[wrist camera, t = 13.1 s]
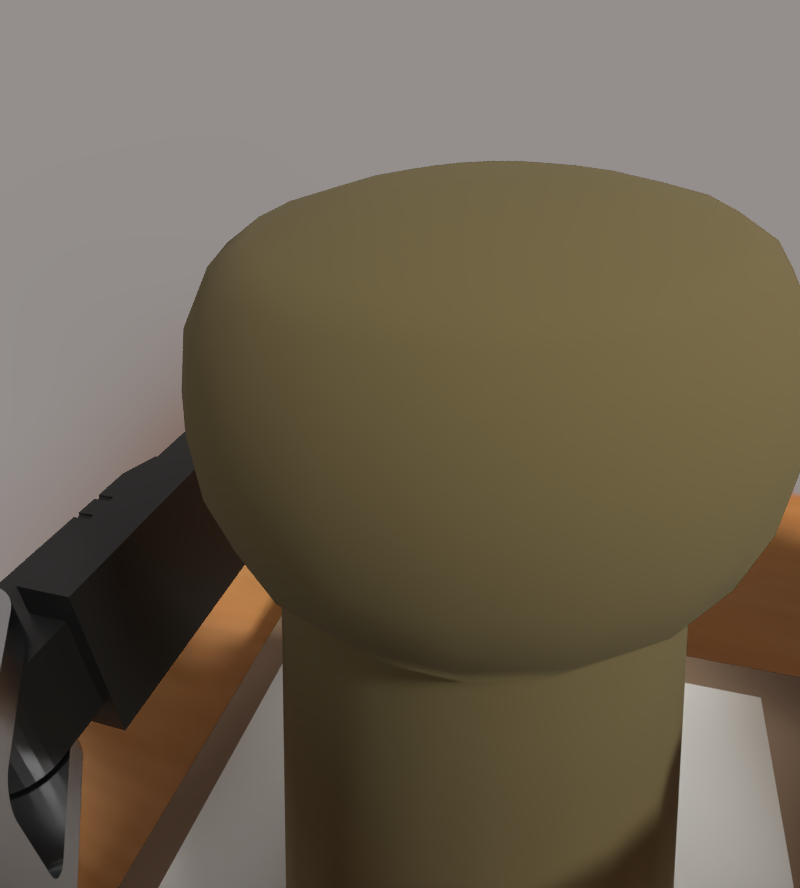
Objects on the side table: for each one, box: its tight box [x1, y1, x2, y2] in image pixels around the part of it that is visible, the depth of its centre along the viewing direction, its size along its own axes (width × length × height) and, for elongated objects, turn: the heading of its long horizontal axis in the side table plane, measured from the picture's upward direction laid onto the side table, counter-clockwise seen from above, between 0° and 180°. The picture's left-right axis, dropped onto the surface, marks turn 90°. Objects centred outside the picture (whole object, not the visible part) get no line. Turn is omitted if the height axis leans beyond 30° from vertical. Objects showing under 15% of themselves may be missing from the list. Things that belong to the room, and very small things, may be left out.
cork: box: [182, 161, 800, 888], centre depth 8 cm, size 6×6×11 cm
